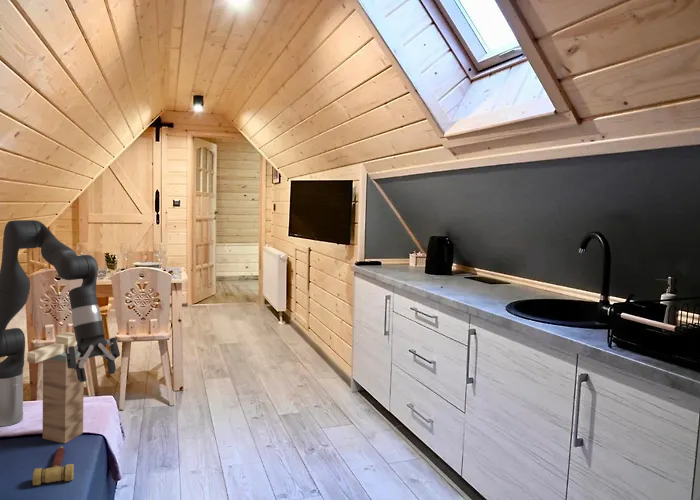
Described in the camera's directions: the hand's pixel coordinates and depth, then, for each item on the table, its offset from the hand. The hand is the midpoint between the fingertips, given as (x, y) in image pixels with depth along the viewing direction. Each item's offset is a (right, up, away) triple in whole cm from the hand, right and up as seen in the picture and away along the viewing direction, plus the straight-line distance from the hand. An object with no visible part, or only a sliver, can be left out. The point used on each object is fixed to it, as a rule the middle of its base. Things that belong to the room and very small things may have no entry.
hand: (97, 377), depth 147 cm
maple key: (-24, +3, +20) cm, 31 cm away
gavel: (-17, -30, +9) cm, 36 cm away
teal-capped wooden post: (-25, -27, +27) cm, 46 cm away
